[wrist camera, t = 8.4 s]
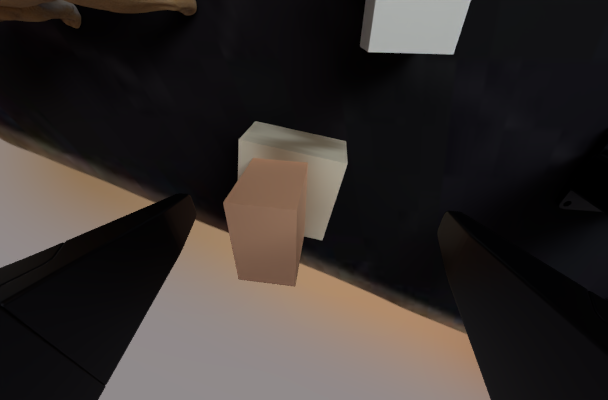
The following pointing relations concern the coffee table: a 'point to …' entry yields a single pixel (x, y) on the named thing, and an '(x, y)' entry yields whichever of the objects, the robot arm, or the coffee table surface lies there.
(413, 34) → the off-white brick
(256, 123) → the birch block
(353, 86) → the coffee table surface
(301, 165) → the terracotta brick
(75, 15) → the lion figurine
